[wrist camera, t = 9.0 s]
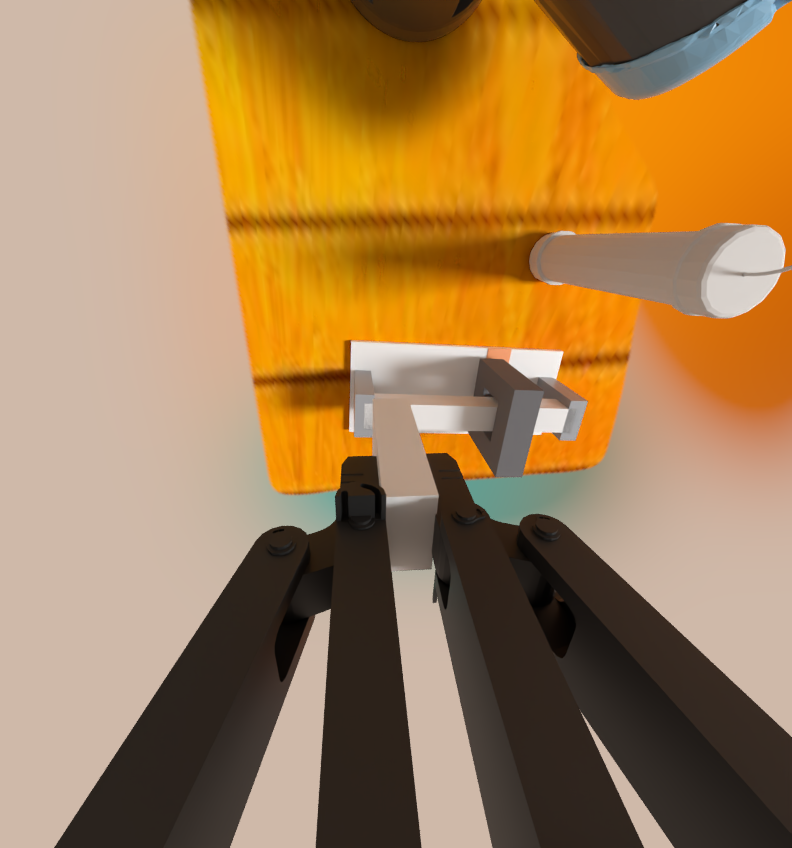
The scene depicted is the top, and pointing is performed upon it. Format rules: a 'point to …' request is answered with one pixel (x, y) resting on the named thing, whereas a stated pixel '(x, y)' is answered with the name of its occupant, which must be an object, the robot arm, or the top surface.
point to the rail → (454, 386)
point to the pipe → (669, 266)
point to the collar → (507, 416)
